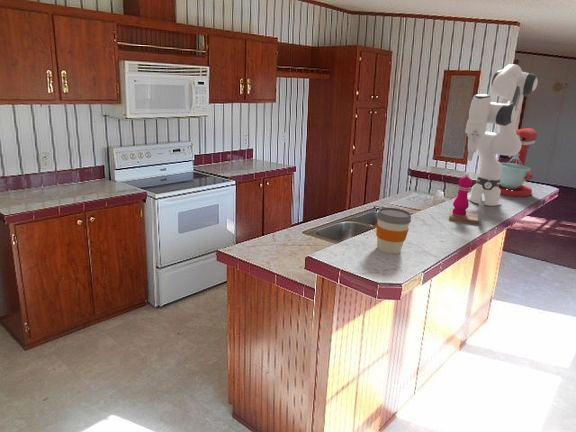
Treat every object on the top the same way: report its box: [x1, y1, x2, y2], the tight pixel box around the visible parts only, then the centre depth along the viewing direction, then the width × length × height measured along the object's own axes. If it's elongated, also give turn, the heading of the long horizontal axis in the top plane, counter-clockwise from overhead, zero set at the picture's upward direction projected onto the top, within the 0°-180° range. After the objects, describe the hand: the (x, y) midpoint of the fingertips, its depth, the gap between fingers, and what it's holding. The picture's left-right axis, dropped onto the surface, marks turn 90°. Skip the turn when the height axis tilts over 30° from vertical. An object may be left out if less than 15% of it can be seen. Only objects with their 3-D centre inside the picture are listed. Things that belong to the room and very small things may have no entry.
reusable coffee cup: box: [375, 207, 412, 255], centre depth 177 cm, size 13×13×15 cm
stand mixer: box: [498, 127, 538, 197], centre depth 292 cm, size 24×32×40 cm
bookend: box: [448, 193, 485, 226], centre depth 227 cm, size 16×14×12 cm
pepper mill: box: [452, 173, 473, 215], centre depth 227 cm, size 7×7×20 cm
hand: (469, 159), depth 221 cm, fingers open, 8 cm apart
